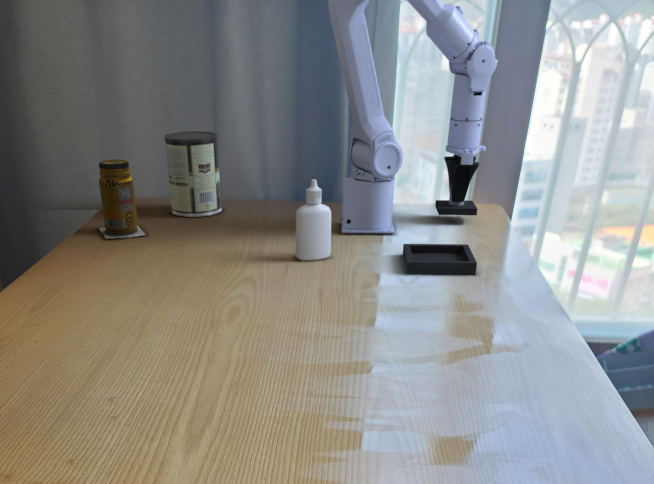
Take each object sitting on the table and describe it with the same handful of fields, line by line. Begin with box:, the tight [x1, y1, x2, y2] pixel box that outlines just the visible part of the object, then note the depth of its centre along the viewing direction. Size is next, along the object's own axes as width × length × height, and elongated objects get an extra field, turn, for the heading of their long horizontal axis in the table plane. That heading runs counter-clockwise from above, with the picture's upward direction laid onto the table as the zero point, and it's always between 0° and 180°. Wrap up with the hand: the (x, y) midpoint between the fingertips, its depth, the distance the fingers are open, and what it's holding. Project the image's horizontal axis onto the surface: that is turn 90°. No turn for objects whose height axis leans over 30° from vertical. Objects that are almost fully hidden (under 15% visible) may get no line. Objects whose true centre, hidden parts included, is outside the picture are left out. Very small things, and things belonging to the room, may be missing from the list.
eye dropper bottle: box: [295, 179, 332, 262], centre depth 120 cm, size 4×6×12 cm
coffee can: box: [163, 130, 223, 218], centre depth 148 cm, size 10×10×14 cm
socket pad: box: [402, 243, 478, 276], centre depth 119 cm, size 10×10×2 cm
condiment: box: [98, 159, 146, 239], centre depth 135 cm, size 7×8×12 cm
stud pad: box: [434, 188, 478, 216], centre depth 141 cm, size 7×7×5 cm
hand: (456, 199), depth 141 cm, fingers closed on stud pad, 3 cm apart
